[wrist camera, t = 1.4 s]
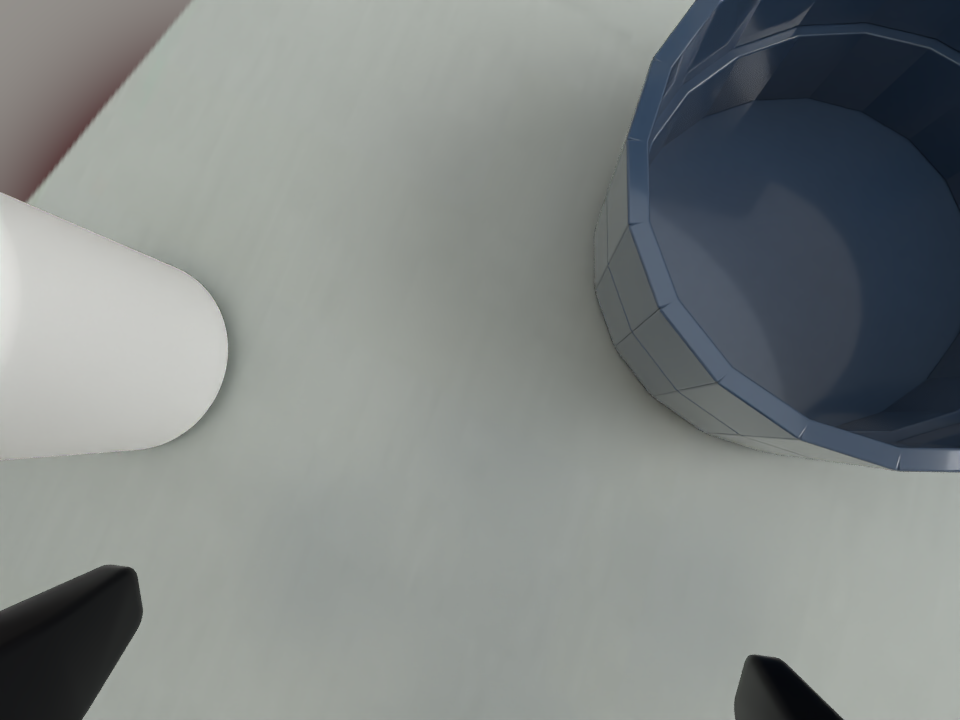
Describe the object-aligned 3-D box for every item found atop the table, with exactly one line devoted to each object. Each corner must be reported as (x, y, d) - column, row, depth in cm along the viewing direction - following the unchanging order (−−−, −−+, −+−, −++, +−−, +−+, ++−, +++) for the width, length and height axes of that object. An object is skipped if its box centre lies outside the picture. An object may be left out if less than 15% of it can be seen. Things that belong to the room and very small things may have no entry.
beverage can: (35, 415, 25) (-409, 411, 13) (101, 244, 26) (-268, 94, 14) (198, 474, 24) (-122, 527, 12) (262, 296, 25) (16, 182, 13)
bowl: (1049, 384, 22) (1378, 361, 13) (665, 501, 22) (746, 550, 14) (893, 36, 24) (1094, -176, 15) (544, 155, 24) (552, 16, 16)
